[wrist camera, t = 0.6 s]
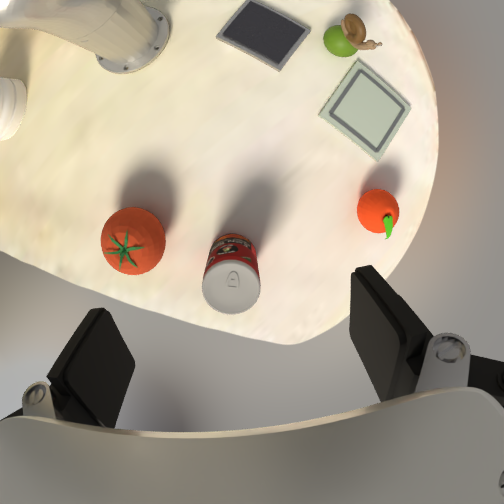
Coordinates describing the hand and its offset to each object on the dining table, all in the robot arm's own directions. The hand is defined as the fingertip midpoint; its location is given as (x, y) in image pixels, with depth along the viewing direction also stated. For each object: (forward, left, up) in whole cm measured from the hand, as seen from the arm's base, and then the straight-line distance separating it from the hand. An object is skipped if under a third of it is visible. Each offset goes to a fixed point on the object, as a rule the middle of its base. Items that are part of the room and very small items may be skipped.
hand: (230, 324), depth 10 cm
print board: (+11, +21, -34) cm, 41 cm away
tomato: (-9, -15, -34) cm, 38 cm away
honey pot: (-49, -8, -34) cm, 60 cm away
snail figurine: (+1, +27, -34) cm, 44 cm away
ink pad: (-9, +22, -34) cm, 42 cm away
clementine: (+21, +8, -34) cm, 41 cm away
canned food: (+6, -11, -34) cm, 36 cm away
